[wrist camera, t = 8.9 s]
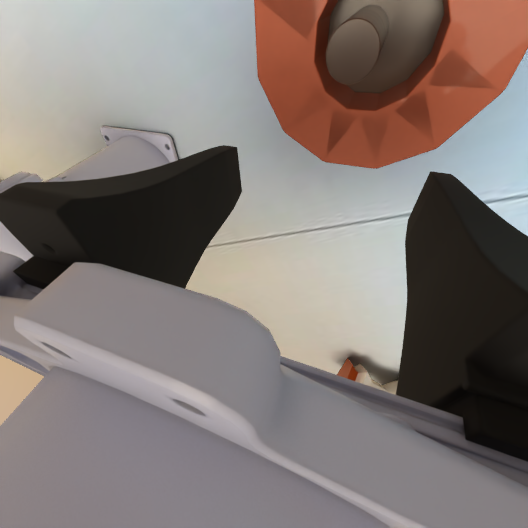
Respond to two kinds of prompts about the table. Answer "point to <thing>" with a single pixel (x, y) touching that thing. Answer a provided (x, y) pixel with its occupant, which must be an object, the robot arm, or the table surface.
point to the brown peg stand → (380, 41)
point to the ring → (396, 98)
